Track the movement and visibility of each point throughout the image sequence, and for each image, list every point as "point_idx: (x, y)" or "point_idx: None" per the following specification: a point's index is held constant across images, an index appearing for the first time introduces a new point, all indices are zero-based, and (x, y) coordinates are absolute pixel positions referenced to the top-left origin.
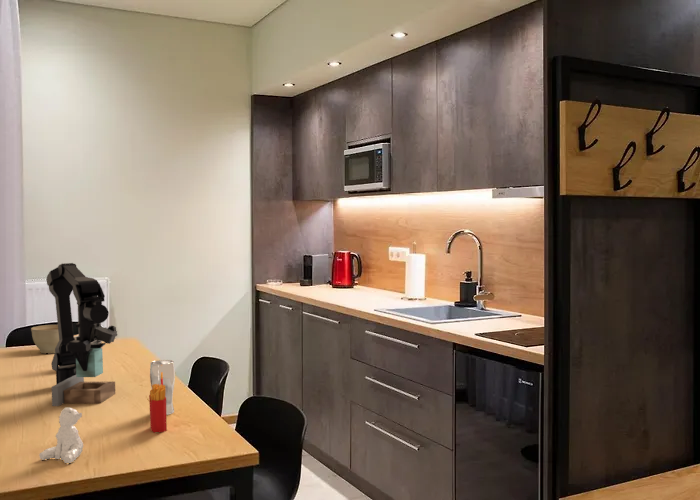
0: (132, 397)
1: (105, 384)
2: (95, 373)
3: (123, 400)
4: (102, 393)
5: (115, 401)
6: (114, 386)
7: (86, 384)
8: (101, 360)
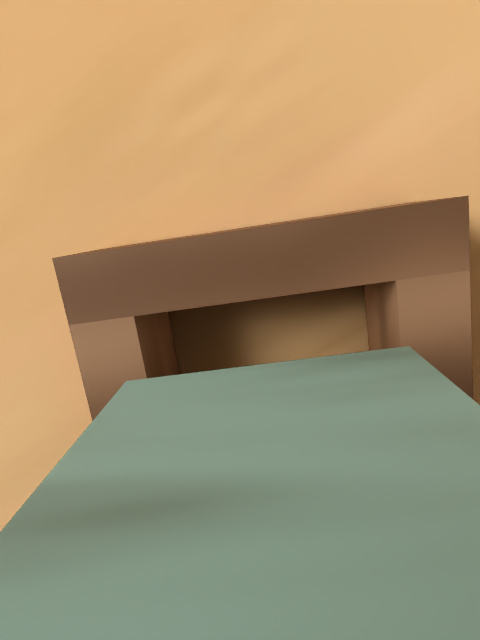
0: (177, 16)
1: (196, 292)
2: (412, 366)
3: (290, 45)
4: (393, 206)
5: (332, 106)
6: (93, 251)
7: None
8: (90, 506)
